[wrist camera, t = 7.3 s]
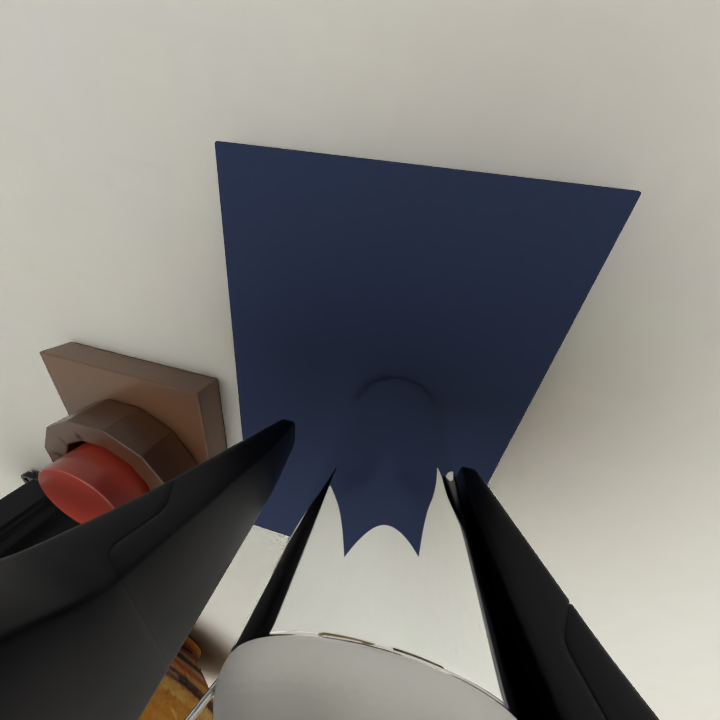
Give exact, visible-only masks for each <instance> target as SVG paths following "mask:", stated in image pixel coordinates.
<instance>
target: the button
mask: <svg viewBox="0 0 720 720" xmlns="http://www.w3.org/2000/svg"><path fill="white" fill-rule="evenodd" d="M38 481H39V484H40V486H41V488H42V490H43V491H44V493H45V494H46V496H47V497H48V498H49V499H50V500H51V501H52V502H53V503H54V504H55V505H56V506H57V507H58V508H59V509H60V510H61V511H63V512H64V513H65V514H67V515H68V516H69V517H71V518H72V519H74V520H75V521H77V522H79V523H80V524H82V523H85V522H87V521H89V520H91V519H93V518H95V517H98V516H100V515H102V514H104V513H106V512H108V511H110V510H113V509H115V508H117V507H119V506H121V505H123V504H125V503H127V502H129V501H131V500H133V499H135V498H137V497H139V496H141V495H143V494H145V493H147V492H149V491H150V489H149V486H148V484H147V483H146V482H145V481H144V480H143V479H142V478H141V476H140V475H139V474H138V473H137V472H136V471H135V470H134V469H133V467H132V466H131V465H130V464H128V463H127V462H125V461H124V460H122V459H121V458H119V457H118V456H116V455H115V454H113V453H112V452H110V451H109V450H107V449H106V448H104V447H101V446H98V445H95V444H92V443H88V442H87V443H84V444H82V445H80V446H79V447H77V448H75V449H74V450H72V451H71V452H69V453H67V454H66V455H64V456H63V457H61V458H59V459H58V460H56V461H55V462H53V463H51V464H50V465H48V466H47V467H45V468H43V469H42V470H41V471H40V472H39V474H38Z"/></svg>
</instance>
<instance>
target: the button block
mask: <svg viewBox="0 0 720 720" xmlns="http://www.w3.org/2000/svg"><path fill="white" fill-rule="evenodd" d="M40 355H41V357H42V359H43V361H44V363H45V365H46V368H47V370H48V372H49V374H50V376H51V378H52V380H53V382H54V385H55V387H56V389H57V391H58V393H59V395H60V397H61V399H62V401H63V404H64V406H65V408H66V410H67V412H68V414H69V416H67V417H65V418H63V419H61V420H59V421H57V422H55V423H53V424H51V425H50V426H48V427H47V429H46V439H45V449H46V450H47V452H48V454H49V456H50V458H51V459H52V461H53V462H55V461H56V460H58V459H59V458H61V457H63V456H64V455H66V454H67V453H69V452H71V451H72V450H74V449H75V448H77V447H79V446H80V445H82V444H84V443H87V442H88V443H92V444H95V445H98V446H101V447H104V448H106V449H107V450H109V451H110V452H112V453H113V454H115V455H116V456H118V457H119V458H121V459H122V460H124V461H125V462H127V463H128V464H130V465H131V466H132V467H133V469H134V470H135V471H136V472H137V473H138V474H139V475H140V476H141V478H142V479H143V480H144V481H145V482H146V483H147V484H148V486H149V489H150V491H151V490H153V489H154V488H156V487H158V486H160V485H162V484H164V483H166V482H168V481H169V480H171V479H174V480H175V478H176V477H177V476H179V475H181V474H182V473H184V472H186V471H188V470H190V469H192V468H193V467H195V466H197V465H199V464H201V463H203V462H204V461H206V460H208V459H210V458H212V457H214V456H216V455H217V454H219V453H221V452H223V451H225V450H227V447H226V440H225V433H224V425H223V418H222V410H221V403H220V396H219V388H218V381H217V379H214V378H210V377H206V376H202V375H198V374H194V373H190V372H186V371H183V370H179V369H175V368H171V367H167V366H163V365H159V364H155V363H151V362H147V361H143V360H139V359H135V358H131V357H127V356H123V355H119V354H116V353H112V352H108V351H104V350H100V349H96V348H92V347H88V346H84V345H80V344H76V343H72V342H69V343H66V344H63V345H60V346H57V347H54V348H50V349H47V350H44V351H41V352H40Z"/></svg>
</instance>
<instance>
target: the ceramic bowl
mask: <svg viewBox="0 0 720 720" xmlns="http://www.w3.org/2000/svg"><path fill="white" fill-rule="evenodd" d="M200 656H201V650H200V648H199V646H198V645H197V644H196V643H195V642H194V641H193V640H192V639H191V638H190V637H189V636H187V638H186V640H185V641H184V643H183V645H182V646H181V648H180V650H179V652H178V653H177V655H176V657H175V658H174V660H173V662H172V663H171V665H169V669H168V671H167V672H166V674H165V676H164V677H163V679H162V681H161V682H160V684H159V686H158V688H157V689H156V691H155V693H154V694H153V696H152V698H151V699H150V701H149V703H148V705H147V706H146V708H145V710H144V711H143V713H142V715H141V716H140V718H139V720H184V719H185V718H186V717H187V716H188V714H189V713H190V712H191V711H192V709H193V708H194V707H195V706H196V704H197V703H198V702H199V701H200V699H201V698H202V697H203V696H204V694H205V693H206V692H207V691H208V689H209V687H208V685H207V683H206V681H205V678H204V676H203V674H202V672H201V670H200V668H199V666H198V664H197V661H198V660H199V658H200ZM213 701H214V700H213V697H212V698H211V699H210V701H209V702H208V703H207V705H206V706H205V707H204V708H203V710H202V711H201V712H200V714H199V715H198V716H197V717H196V719H195V720H213Z"/></svg>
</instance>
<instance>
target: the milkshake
mask: <svg viewBox="0 0 720 720" xmlns="http://www.w3.org/2000/svg"><path fill="white" fill-rule="evenodd" d="M213 696H214V701H213V720H526V717H525V714H524V711H523V707H522V704H521V701H520V697H519V694H518V691H517V687H516V684H515V681H514V677H513V674H512V671H511V667H510V664H509V661H508V657H507V654H506V651H505V647H504V644H503V641H502V637H501V634H500V631H499V627H498V624H497V621H496V617H495V614H494V611H493V607H492V604H491V601H490V597H489V594H488V591H487V587H486V584H485V581H484V577H483V574H482V571H481V567H480V564H479V560H478V557H477V554H476V550H475V547H474V543H473V540H472V536H471V533H470V529H469V526H468V522H467V518H466V514H465V510H464V507H463V503H462V499H461V495H460V492H459V488H458V484H457V480H456V477H455V473H454V469H453V466H452V462H451V458H450V455H449V451H448V447H447V444H446V440H445V436H444V432H443V429H442V425H441V421H440V418H439V414H438V410H437V407H436V405H435V404H434V402H433V401H432V399H431V398H430V397H429V395H428V394H427V392H426V391H425V390H424V388H423V387H422V386H421V385H418V384H415V383H412V382H409V381H407V380H404V379H401V378H398V377H395V378H390V379H385V380H381V381H376V382H372V383H371V384H370V385H369V386H368V388H367V389H366V390H365V391H364V392H363V393H362V394H361V395H360V397H359V398H358V399H357V401H356V402H355V404H354V407H353V409H352V411H351V413H350V415H349V417H348V419H347V421H346V423H345V425H344V427H343V429H342V431H341V433H340V436H339V438H338V440H337V442H336V444H335V446H334V448H333V450H332V452H331V454H330V456H329V458H328V460H327V462H326V465H325V467H324V469H323V471H322V473H321V475H320V477H319V479H318V481H317V483H316V485H315V488H314V490H313V492H312V494H311V496H310V498H309V500H308V502H307V504H306V506H305V508H304V510H303V512H302V514H301V516H300V518H299V520H298V522H297V524H296V526H295V528H294V529H293V531H292V533H291V535H290V537H289V539H288V541H287V543H286V545H285V547H284V549H283V551H282V553H281V555H280V556H279V558H278V560H277V562H276V564H275V566H274V568H273V570H272V572H271V574H270V576H269V578H268V580H267V581H266V583H265V585H264V587H263V589H262V591H261V593H260V595H259V597H258V599H257V601H256V603H255V605H254V607H253V608H252V610H251V612H250V614H249V616H248V618H247V620H246V622H245V624H244V626H243V628H242V630H241V632H240V634H239V636H238V637H237V639H236V641H235V643H234V645H233V647H232V649H231V652H230V654H229V656H228V658H227V659H226V661H225V663H224V664H223V667H222V669H221V671H220V673H219V676H218V678H217V679H216V681H215V682H214V683H213V684H212V686H211V687H210V688H209V689H208V691H207V692H206V693H205V694H204V696H203V697H202V698H201V699H200V701H199V702H198V703H197V704H196V706H195V707H194V708H193V709H192V711H191V712H190V713H189V714H188V716H187V717H186V718H185V719H184V720H195V719H196V717H197V716H198V715H199V714H200V712H201V711H202V710H203V708H204V707H205V706H206V705H207V703H208V702H209V701H210V699H211V698H212V697H213Z"/></svg>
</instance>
